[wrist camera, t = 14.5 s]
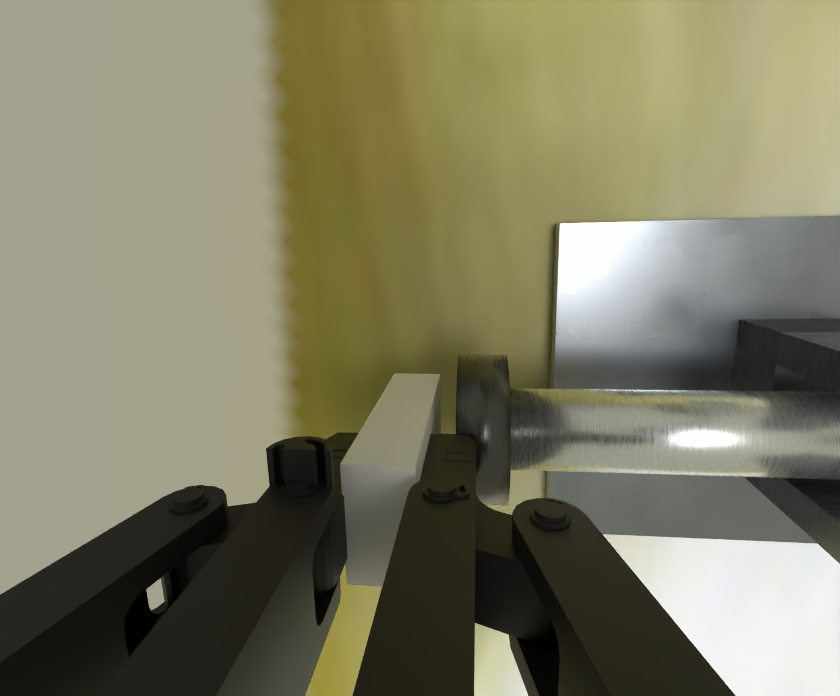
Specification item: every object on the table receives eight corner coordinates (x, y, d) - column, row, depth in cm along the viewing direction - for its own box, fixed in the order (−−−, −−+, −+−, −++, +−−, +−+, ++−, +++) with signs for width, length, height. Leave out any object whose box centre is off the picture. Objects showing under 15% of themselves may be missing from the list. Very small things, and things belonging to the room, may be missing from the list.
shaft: (460, 341, 16) (454, 378, 12) (901, 341, 15) (1072, 383, 11) (461, 462, 17) (456, 535, 13) (875, 473, 16) (1021, 560, 12)
